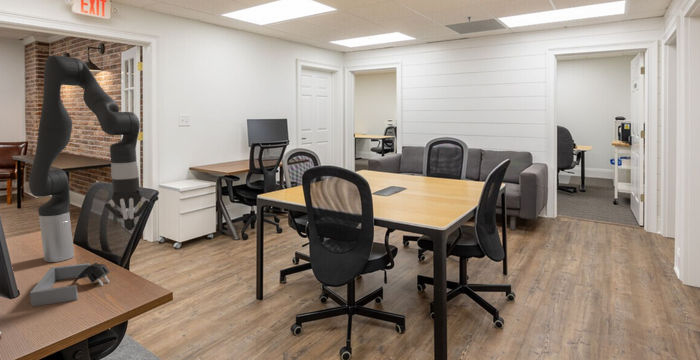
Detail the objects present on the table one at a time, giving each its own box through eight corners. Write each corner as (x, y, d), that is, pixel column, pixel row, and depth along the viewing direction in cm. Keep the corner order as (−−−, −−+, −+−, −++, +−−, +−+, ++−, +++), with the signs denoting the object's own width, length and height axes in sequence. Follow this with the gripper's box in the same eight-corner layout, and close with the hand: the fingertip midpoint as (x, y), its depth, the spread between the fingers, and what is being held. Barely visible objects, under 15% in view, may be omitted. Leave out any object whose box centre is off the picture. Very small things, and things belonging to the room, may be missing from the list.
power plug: (80, 275, 139) (104, 257, 136) (93, 294, 139) (118, 276, 136) (66, 282, 133) (90, 263, 130) (80, 301, 133) (105, 283, 130)
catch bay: (52, 279, 138) (50, 267, 137) (91, 274, 142) (89, 263, 141) (31, 306, 118) (29, 292, 118) (77, 299, 122) (75, 286, 122)
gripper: (149, 173, 138) (153, 225, 140) (103, 176, 133) (108, 229, 136) (147, 176, 131) (152, 230, 133) (99, 179, 126) (104, 235, 129)
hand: (130, 229), depth 135 cm, fingers closed
